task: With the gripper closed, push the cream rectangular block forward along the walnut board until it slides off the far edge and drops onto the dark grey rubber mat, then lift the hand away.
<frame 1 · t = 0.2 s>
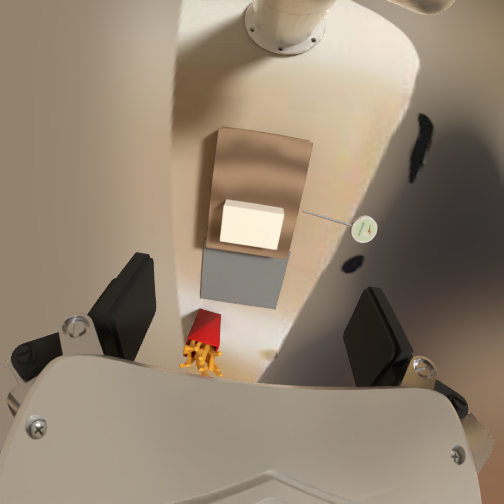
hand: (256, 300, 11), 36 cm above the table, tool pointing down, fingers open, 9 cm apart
sign: (340, 220, 48), on the table
french fries: (213, 317, 60), on the table
board: (256, 190, 45), on the table
cream rectangular block: (251, 221, 44), point 4 cm above the table, touching board
mat: (242, 276, 54), on the table
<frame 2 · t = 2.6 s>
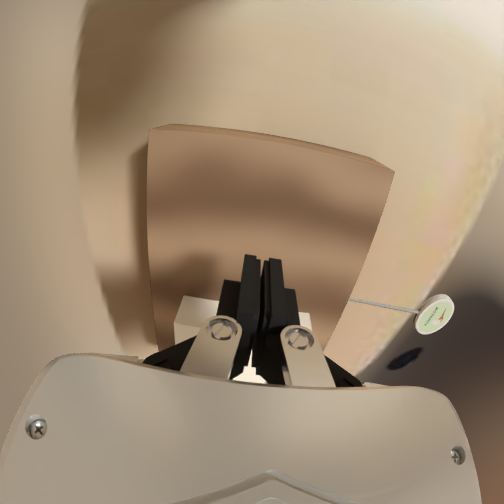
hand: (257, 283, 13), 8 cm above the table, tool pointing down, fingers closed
sign: (401, 305, 25), on the table
board: (251, 262, 22), on the table
cream rectangular block: (241, 333, 20), point 4 cm above the table, touching board
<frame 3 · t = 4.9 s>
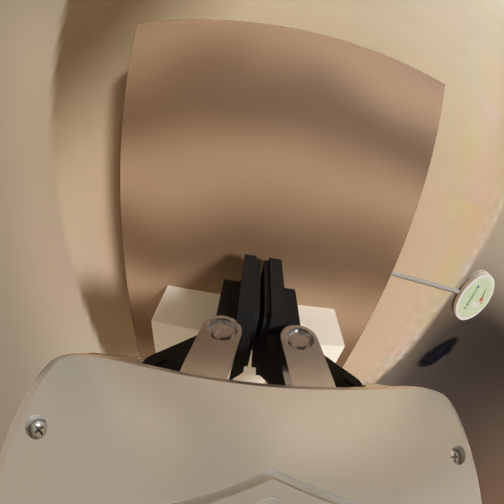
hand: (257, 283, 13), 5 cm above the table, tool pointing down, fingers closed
sign: (440, 283, 19), on the table
board: (262, 217, 16), on the table
cream rectangular block: (244, 337, 15), point 4 cm above the table, touching gripper
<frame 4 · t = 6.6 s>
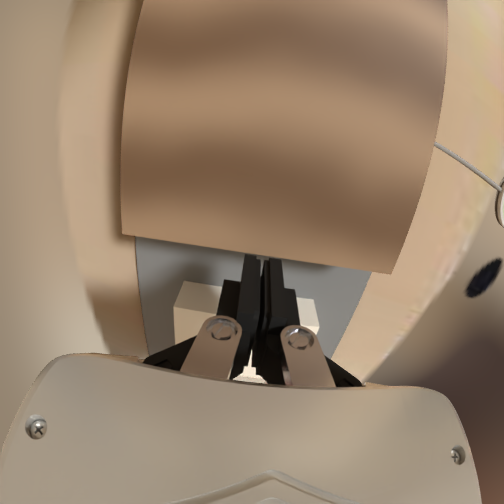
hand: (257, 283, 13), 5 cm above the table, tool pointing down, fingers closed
sign: (481, 176, 14), on the table
board: (291, 56, 12), on the table
cream rectangular block: (241, 350, 17), point 3 cm above the table, tilted 180°, touching mat
mat: (244, 316, 20), on the table
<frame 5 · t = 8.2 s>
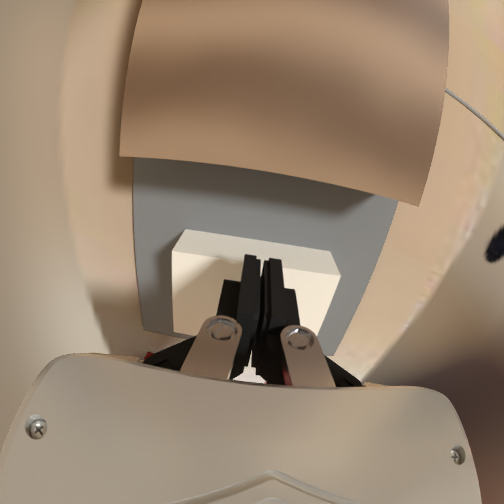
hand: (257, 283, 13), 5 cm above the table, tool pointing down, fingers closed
sign: (492, 130, 12), on the table
cream rectangular block: (249, 308, 15), point 3 cm above the table, tilted 180°, touching mat
mat: (252, 273, 18), on the table
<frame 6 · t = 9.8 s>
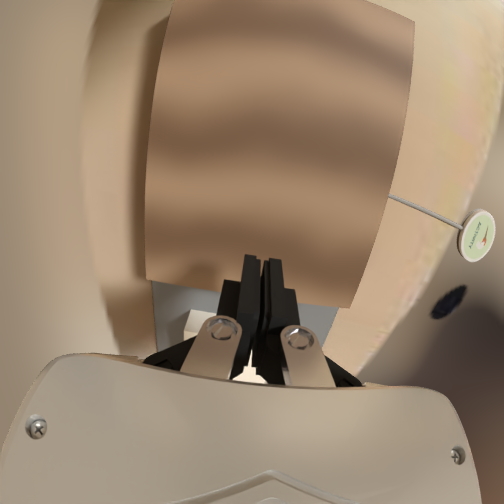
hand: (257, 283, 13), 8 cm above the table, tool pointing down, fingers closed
sign: (443, 218, 19), on the table
board: (274, 134, 17), on the table
cream rectangular block: (236, 363, 22), point 3 cm above the table, tilted 180°, touching mat
mat: (239, 336, 24), on the table
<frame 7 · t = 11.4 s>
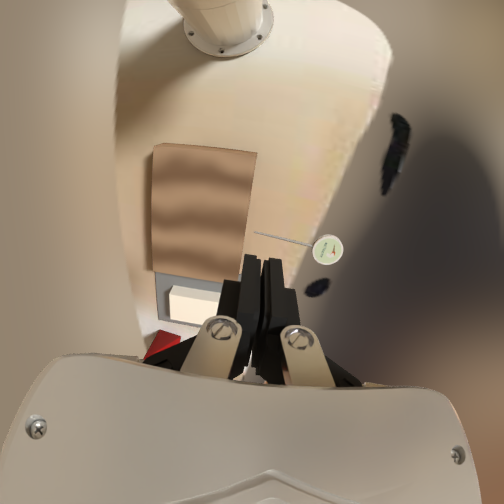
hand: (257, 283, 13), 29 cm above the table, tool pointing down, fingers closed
sign: (299, 241, 44), on the table
french fries: (174, 338, 56), on the table
board: (202, 210, 42), on the table
cream rectangular block: (193, 311, 47), point 3 cm above the table, tilted 180°, touching mat
mat: (197, 299, 50), on the table
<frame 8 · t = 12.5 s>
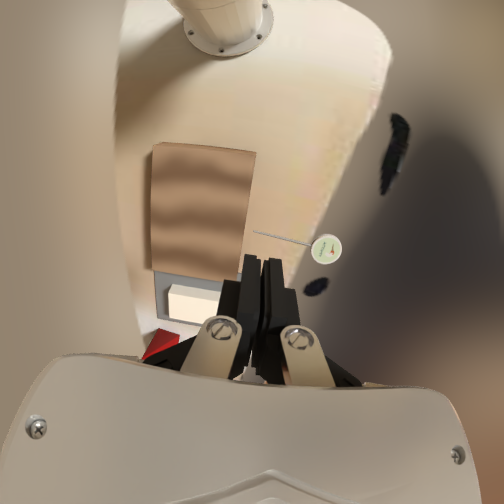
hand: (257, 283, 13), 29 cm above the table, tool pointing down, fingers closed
sign: (298, 240, 44), on the table
french fries: (173, 337, 56), on the table
board: (201, 209, 42), on the table
cream rectangular block: (192, 310, 47), point 3 cm above the table, tilted 180°, touching mat
mat: (196, 298, 50), on the table
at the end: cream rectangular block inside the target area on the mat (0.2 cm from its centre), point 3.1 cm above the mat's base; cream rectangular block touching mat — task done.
